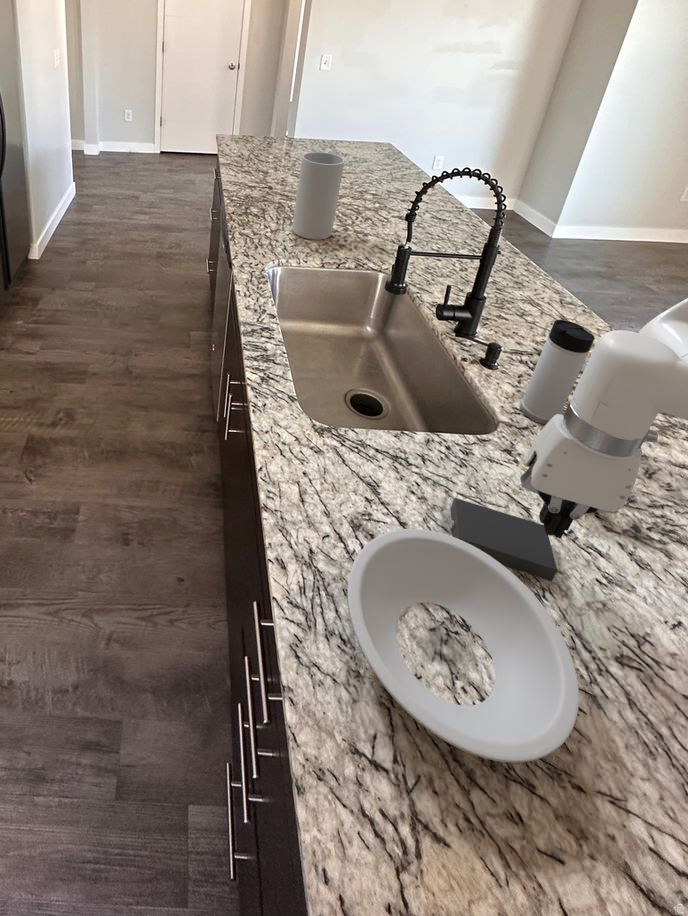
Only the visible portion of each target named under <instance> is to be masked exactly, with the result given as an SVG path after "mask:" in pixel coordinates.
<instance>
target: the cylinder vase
mask: <svg viewBox="0 0 688 916" xmlns="http://www.w3.org/2000/svg"><path fill="white" fill-rule="evenodd" d="M344 166H345V158H344V157H342V156H340V155H337V154H334V153H330V152H322V151H310V152H306V153H304V154H302V156H301V163H300V171H299V177H298V184H297V192H296V198H295V206H294V213H293V219H292V227H291V228H292V232H293V233H294V234H295V235H296V236H299V237H300V238H303V239H307V240H315V241H321V240H325V239H328V238H330V237H331V236H332V233H333V228H334V223H335V217H336V211H337V207H338V206H337V205H338V201H339V200H338V199H339V194H340V190H341V189H340V188H341V185H342V184H341V183H342V177H343V173H344Z"/></svg>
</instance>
